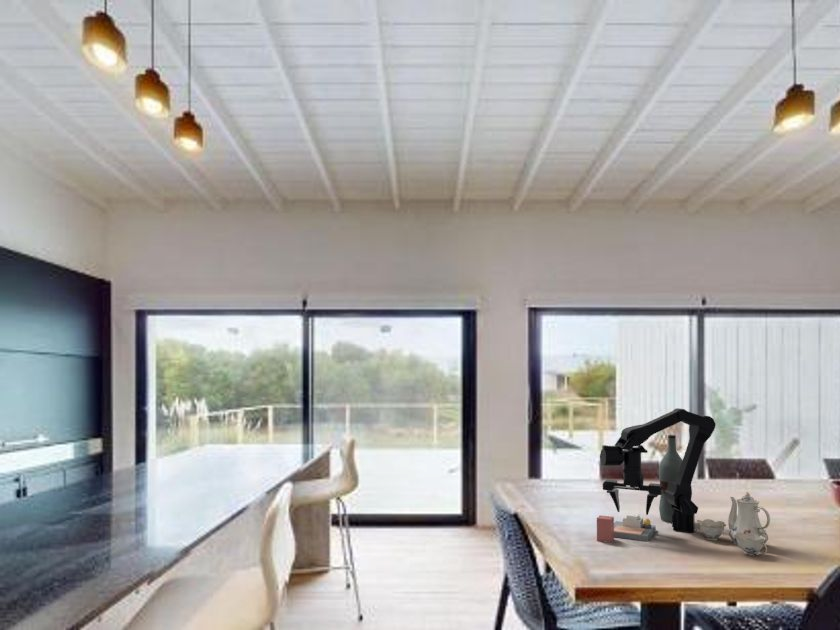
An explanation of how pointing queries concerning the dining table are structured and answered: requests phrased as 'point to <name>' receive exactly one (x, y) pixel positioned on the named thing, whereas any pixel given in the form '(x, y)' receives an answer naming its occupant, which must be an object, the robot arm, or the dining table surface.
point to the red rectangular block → (605, 528)
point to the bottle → (668, 477)
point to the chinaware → (741, 526)
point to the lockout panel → (634, 529)
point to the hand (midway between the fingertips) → (632, 513)
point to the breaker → (633, 517)
